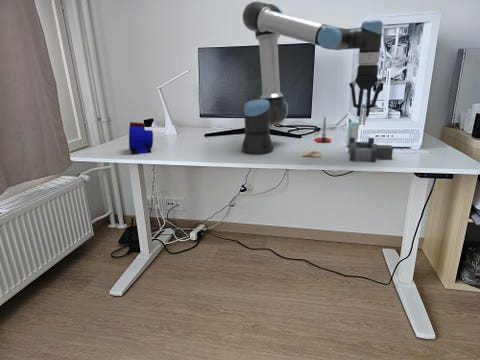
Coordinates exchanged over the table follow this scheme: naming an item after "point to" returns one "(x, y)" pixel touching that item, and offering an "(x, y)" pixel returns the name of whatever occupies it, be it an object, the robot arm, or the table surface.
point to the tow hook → (323, 135)
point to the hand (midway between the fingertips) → (361, 124)
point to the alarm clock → (140, 138)
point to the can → (352, 131)
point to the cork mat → (311, 154)
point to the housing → (362, 150)
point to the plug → (384, 152)
